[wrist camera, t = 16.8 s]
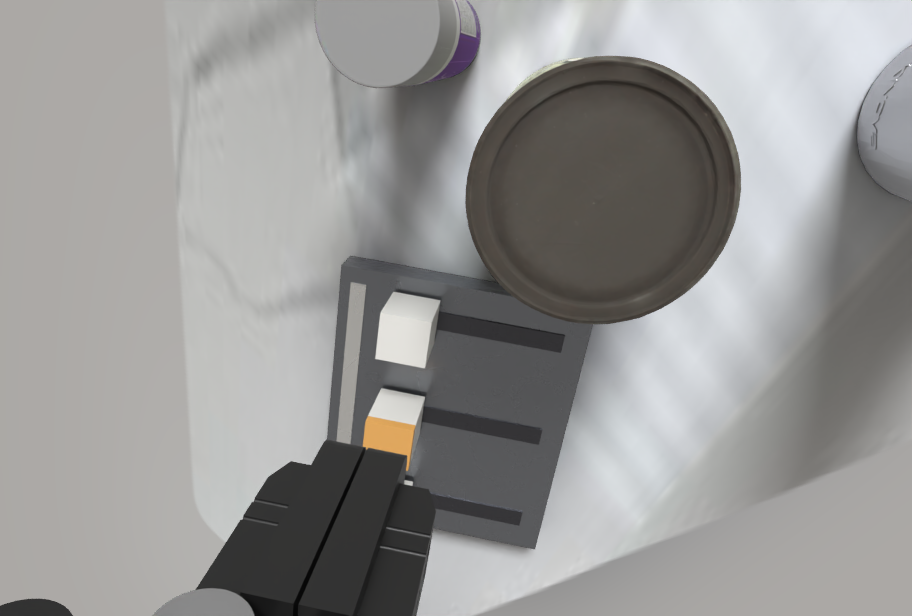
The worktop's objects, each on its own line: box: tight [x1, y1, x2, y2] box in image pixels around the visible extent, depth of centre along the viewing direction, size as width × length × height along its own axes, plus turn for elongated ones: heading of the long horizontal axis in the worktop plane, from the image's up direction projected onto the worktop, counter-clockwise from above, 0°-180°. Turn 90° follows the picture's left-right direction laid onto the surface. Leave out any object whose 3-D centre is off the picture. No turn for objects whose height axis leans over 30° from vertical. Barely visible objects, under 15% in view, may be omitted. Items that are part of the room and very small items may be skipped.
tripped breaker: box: [363, 388, 425, 471], centre depth 40 cm, size 3×3×4 cm
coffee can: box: [466, 56, 741, 324], centre depth 30 cm, size 10×10×14 cm
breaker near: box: [375, 292, 441, 368], centre depth 38 cm, size 3×3×4 cm
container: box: [315, 0, 481, 88], centre depth 28 cm, size 5×5×15 cm
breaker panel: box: [327, 256, 593, 549], centre depth 43 cm, size 16×19×2 cm
